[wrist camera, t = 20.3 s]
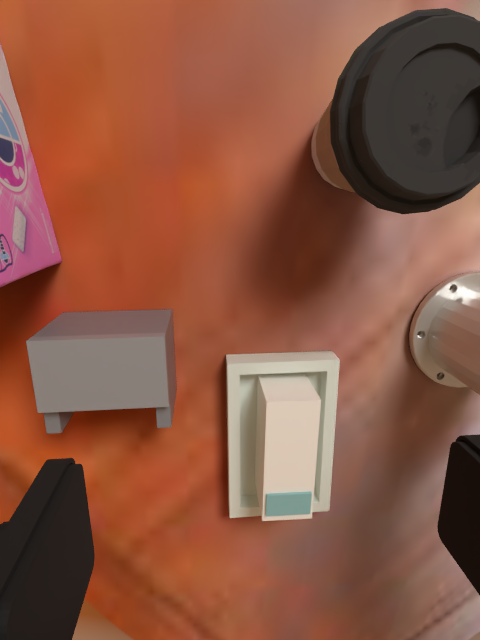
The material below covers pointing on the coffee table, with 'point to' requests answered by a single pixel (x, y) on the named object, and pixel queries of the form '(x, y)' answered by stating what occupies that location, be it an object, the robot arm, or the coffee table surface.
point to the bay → (104, 364)
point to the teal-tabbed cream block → (286, 445)
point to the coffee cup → (406, 115)
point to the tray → (244, 412)
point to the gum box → (20, 196)
